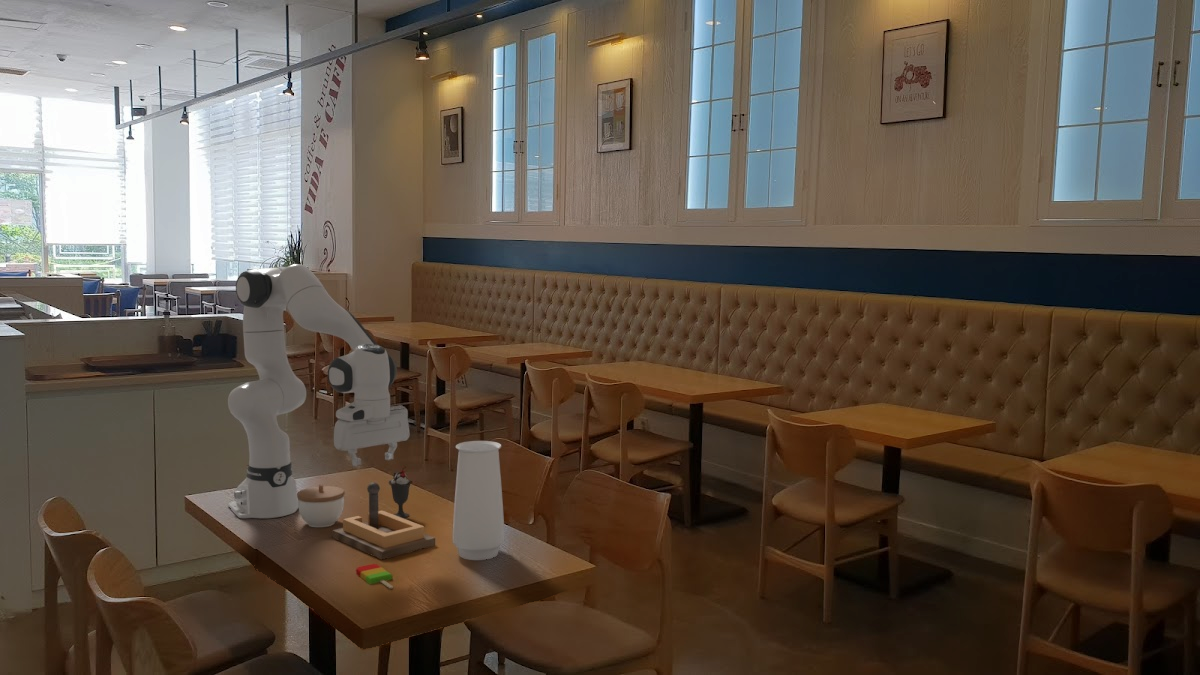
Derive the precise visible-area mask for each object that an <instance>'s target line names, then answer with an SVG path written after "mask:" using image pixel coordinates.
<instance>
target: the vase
mask: <svg viewBox="0 0 1200 675" xmlns="http://www.w3.org/2000/svg"><path fill="white" fill-rule="evenodd" d="M501 448H502V444H501V443H499V442H496V441H490V440H471V441H470V440H469V441H468V440H467V441H463V442H459V443H458V444H456V445H455V449H457V450H458V456H457V468H456V479H455V494H454V504H453V505H454V506H453V507H454V508H453V522H452V523H453V524H452V526H453V527H452V543H453V545H454V547H456V548H457V551H458V555H459V557H460V558H462V559H464V560H467V561H485V560H486V559H487V560H490V559H493V557H494V558H495V557H497V556H498V555H499V550H500V547H501V546H502V545H503V544H504V542H505V521H504V519H505V518H504V506H503V491H502V477H501V466H500V465H501V464H500V453H499V450H500V449H501Z"/></svg>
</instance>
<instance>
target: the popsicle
mask: <svg viewBox="0 0 1200 675" xmlns="http://www.w3.org/2000/svg"><path fill="white" fill-rule="evenodd" d="M356 575H357V576H358V575H359V576H358V577H360V578H361V579H362V580H364V581H365V582H366V583H368V584H369V585H373V583H374V584H378V583H377V582H379V583H381V584H383V585H384V586H385V587H386V588H388V589H391V590H392V589H394V586H393V585H392V584H391V583H389V582H387V581H386V580H388V581H390V580H391V579H392V580H393V575H392V573H390V571H389V572H388V570H386V569H385V568H384V567H381V566H380V565H379V564H377V563H372V564H367V565H363V566H358V567H357V568H356ZM392 580H391V581H392Z"/></svg>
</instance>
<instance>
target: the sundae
mask: <svg viewBox="0 0 1200 675" xmlns="http://www.w3.org/2000/svg"><path fill="white" fill-rule="evenodd" d="M406 468H407V466H406V465H404V466H403V468H402V469H401V470H400V471H399V472H394V473H393V476H392V477H393V478H392V480H388V485H389V486H391V493H392V499H393V502H394V503H396V504H397V505H398V510H397V513H394V514H393V513H392V514H393V515H396V516H398V517H401V518H403V519H407V518H409V517H410V513H407V512H406V513H405V511H404V508H403V506H404V504H405V503H406V502H407V501H408V498H409V494H410V493H409V492H410V488H411V484H412V483H413V481H412V480H411V479H408V476H407V474H406V473H405V469H406ZM408 516H409V517H408ZM406 517H407V518H406Z"/></svg>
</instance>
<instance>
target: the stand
mask: <svg viewBox="0 0 1200 675" xmlns="http://www.w3.org/2000/svg"><path fill="white" fill-rule="evenodd" d="M380 489H381V487H380V485H379V484H378V483H377V482H370V483H369V484H368V485H367V493H368V513H369V526H371V527H374V528H376V529H378V530H381V531H383V532H386V533H389V532H393V531H396V530H393V529H391V528H388V527H386V526H383V525H381V524H379V518H378V511H379V492H380ZM363 523H364V524H366V525H368V521H365V522H363ZM331 533H332V538H333V539H334V540H337V539H338V540H337V541H339V540H340V541H339V542H341V543H344V544H347V546H348V545H349V546H350V547H353V548H355V549H358V550H359V549H360V551H362V552H364V553H366V552H367V554H368V553H369V554H368V555H371V554H372V555H371V556H373V555H374V556H373V557H375V556H376V557H375V558H377V557H378V559H379V558H380V560H382V559H383V560H386V559H385V558H387V559H390V558H394V557H398V556H401V555H404V553H405V554H407V553H408V552H409V553H411V551H412V552H415V550H416V551H419V550H418V549H420V550H423V549H422V548H424V549H427V548H430V546H431V547H434V545H435V546H436V537H434V536H432V535H429V534H427V533H424V538H422V539H418V540H414V541H410V542H406V543H402V544H399V545H395V546H391V547H387V548H383V547H381V546H378V545H376V544H374V543H372V542H369V541H367V540H365V539H362V538H360V537H358V536H355V535H353V534H351V533H348V532H346V531H344V530H343V527H339V528H336V529H332V530H331ZM400 554H401V555H400ZM397 555H398V556H397ZM393 556H394V557H393ZM389 557H390V558H389Z"/></svg>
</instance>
